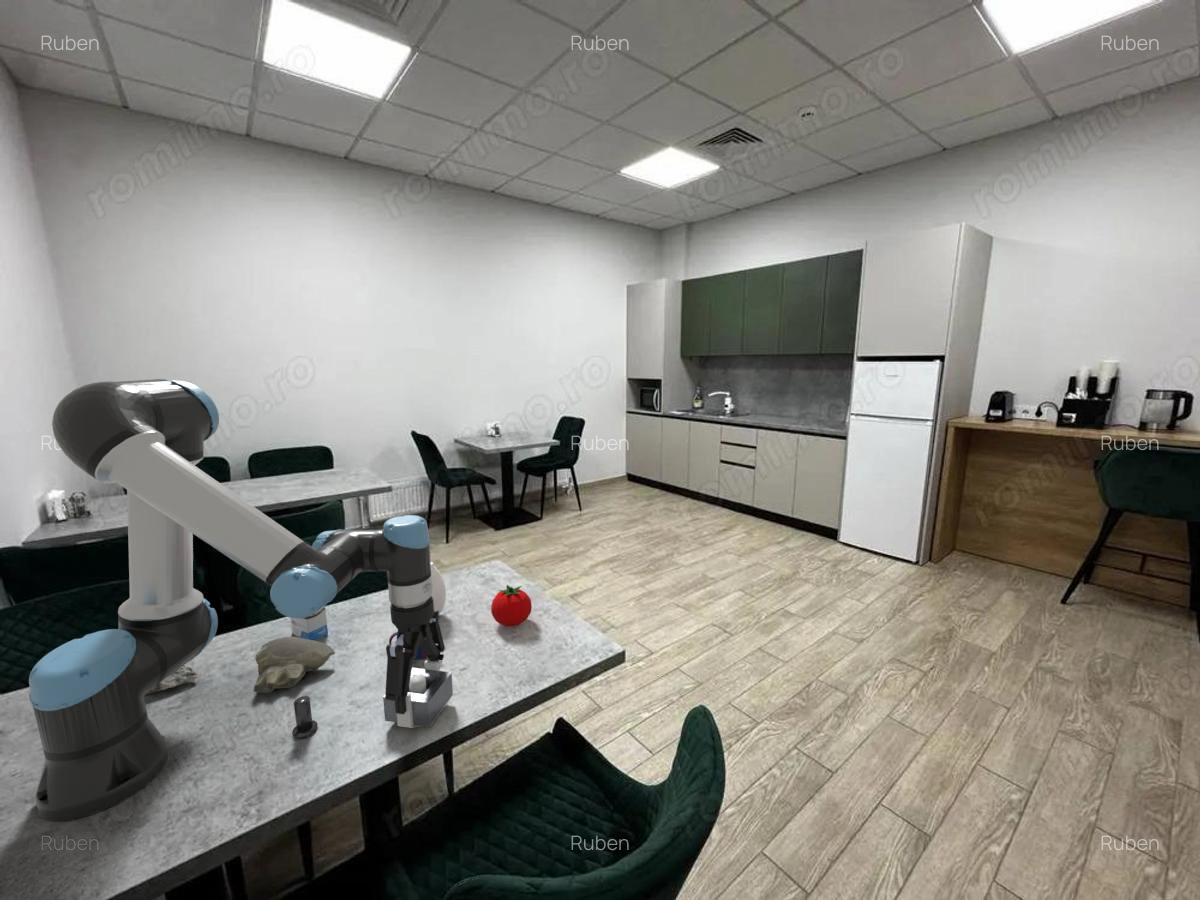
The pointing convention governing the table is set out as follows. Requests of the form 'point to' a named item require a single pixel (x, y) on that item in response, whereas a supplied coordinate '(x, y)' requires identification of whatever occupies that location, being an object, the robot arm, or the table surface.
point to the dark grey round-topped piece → (303, 718)
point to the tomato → (511, 606)
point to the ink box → (311, 625)
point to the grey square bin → (425, 698)
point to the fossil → (288, 661)
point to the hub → (417, 686)
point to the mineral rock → (175, 679)
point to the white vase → (438, 589)
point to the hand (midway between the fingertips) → (420, 707)
